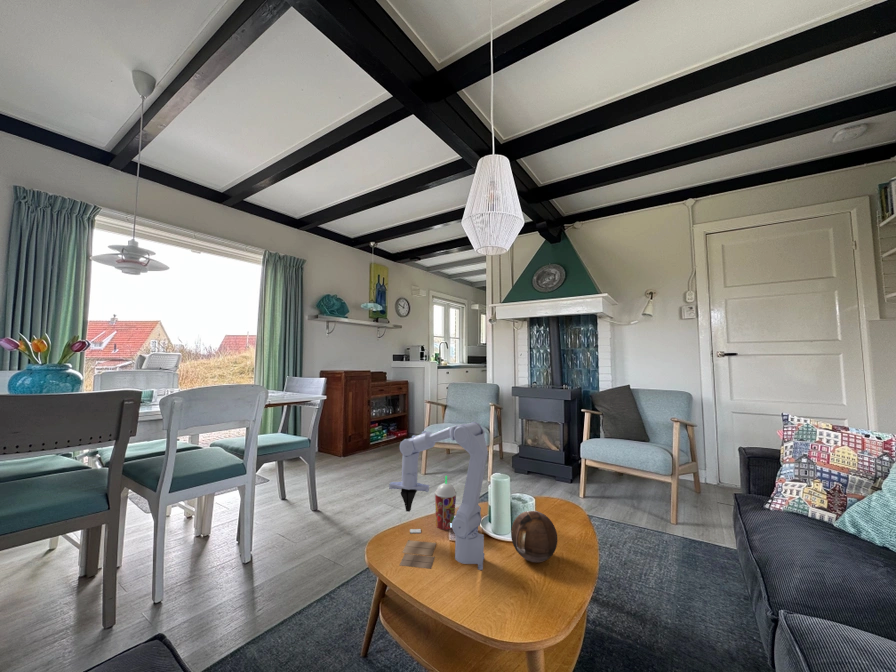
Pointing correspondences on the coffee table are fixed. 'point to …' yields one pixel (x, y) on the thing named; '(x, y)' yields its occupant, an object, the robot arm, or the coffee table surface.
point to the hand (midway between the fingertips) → (408, 510)
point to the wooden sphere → (534, 536)
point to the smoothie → (445, 505)
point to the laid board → (417, 561)
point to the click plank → (419, 548)
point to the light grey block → (415, 530)
